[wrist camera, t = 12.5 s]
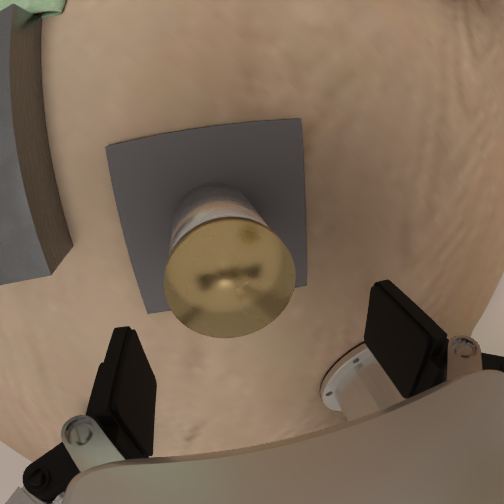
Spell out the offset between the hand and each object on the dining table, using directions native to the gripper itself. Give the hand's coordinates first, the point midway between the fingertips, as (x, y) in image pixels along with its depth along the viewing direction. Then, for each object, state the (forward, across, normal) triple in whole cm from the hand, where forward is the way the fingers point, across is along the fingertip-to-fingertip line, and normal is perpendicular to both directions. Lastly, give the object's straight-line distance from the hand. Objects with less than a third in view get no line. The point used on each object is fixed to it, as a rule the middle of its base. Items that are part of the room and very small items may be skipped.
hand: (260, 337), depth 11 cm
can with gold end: (+11, +1, -1) cm, 11 cm away
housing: (+11, +21, -10) cm, 26 cm away
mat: (+12, +1, -1) cm, 12 cm away
